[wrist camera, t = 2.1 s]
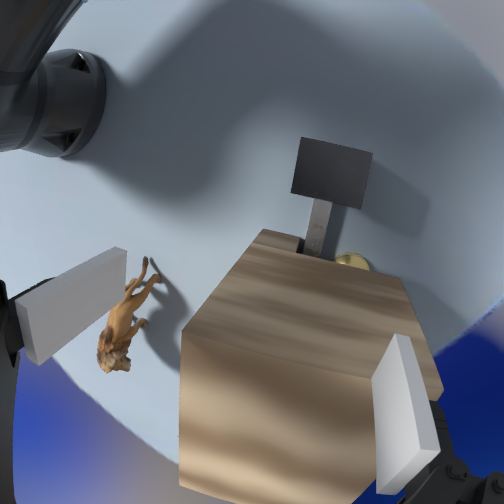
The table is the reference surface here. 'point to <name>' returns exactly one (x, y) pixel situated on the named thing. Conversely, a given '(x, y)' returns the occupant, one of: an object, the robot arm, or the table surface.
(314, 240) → the grey mallet
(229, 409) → the cabinet
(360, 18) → the table surface
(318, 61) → the table surface
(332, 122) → the table surface
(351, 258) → the brass disc
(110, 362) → the lion figurine
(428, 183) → the table surface
